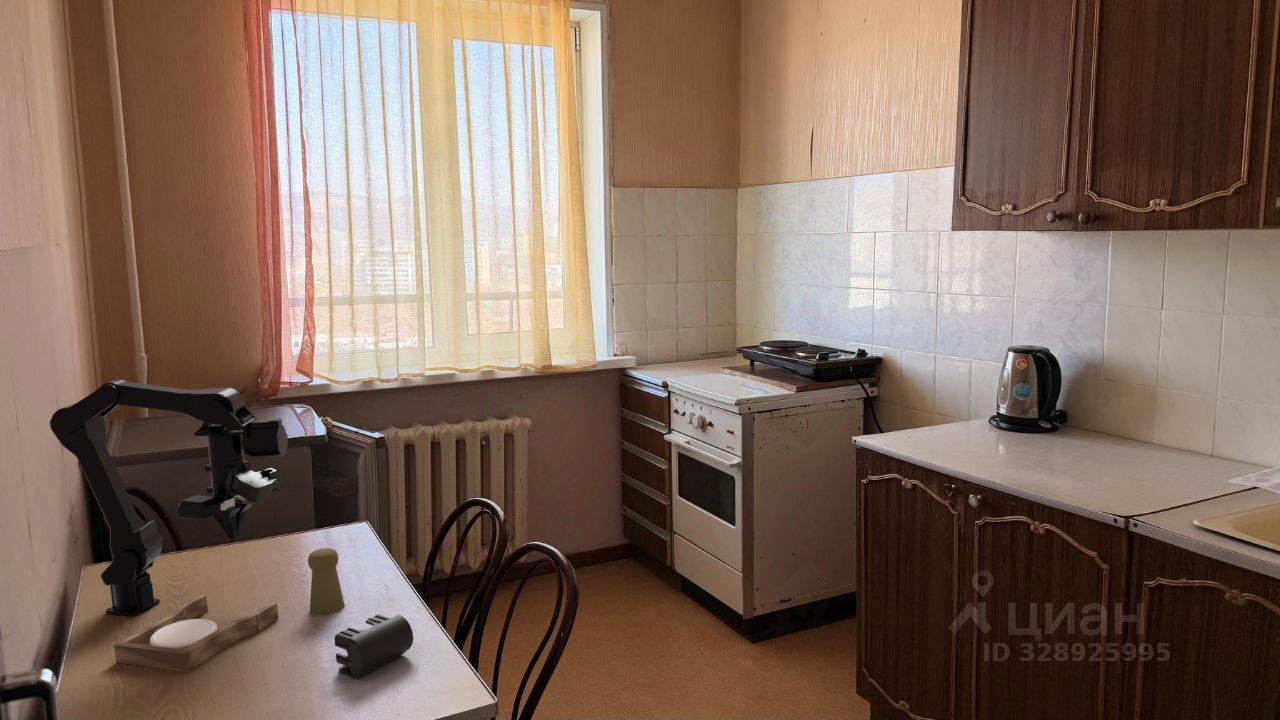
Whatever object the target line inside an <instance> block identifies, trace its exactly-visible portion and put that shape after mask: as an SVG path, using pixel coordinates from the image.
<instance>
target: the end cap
mask: <svg viewBox="0 0 1280 720" xmlns="http://www.w3.org/2000/svg"><path fill="white" fill-rule="evenodd" d="M365 624H367V625H371V626H372V627H370V628H367V629H357V628H354V627H347V629H344V630H341V631H340V632H338V633H336V634H335V635H334V646H335V647H336V648H337V647H338V648H340V649H343V650H345V652H346V653H347V655H345V654H343V653H340V652H336V653H335V661H336V663H337V664H340V665H341V666H339V667H338V673H340V674H342V675H344V676H347V677H350V678H352V679H359V678H361V677H362V676H364V675H366V674H368V673H370V672H372V671H373V670H375V669H378V668H380V667H383V666H384V665H385V664H388V663H389V662H391V661H393V660H395V659H396V658H399V657H400V656H402V655H403V654H405V653H406V652H407V651H409V650H411V648H412V645H413V643H414V634H413V633H414V632H413V629H412V627H411V624H410V623H409V621H408V620H407V619H406V618H405V616H403V615H401V614H396V615H394V616H392V617H388V616H385V615H383V614H382V615H381V614H375V615H374V616H372V617H369V618H368V619H366V620H365Z"/></svg>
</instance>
